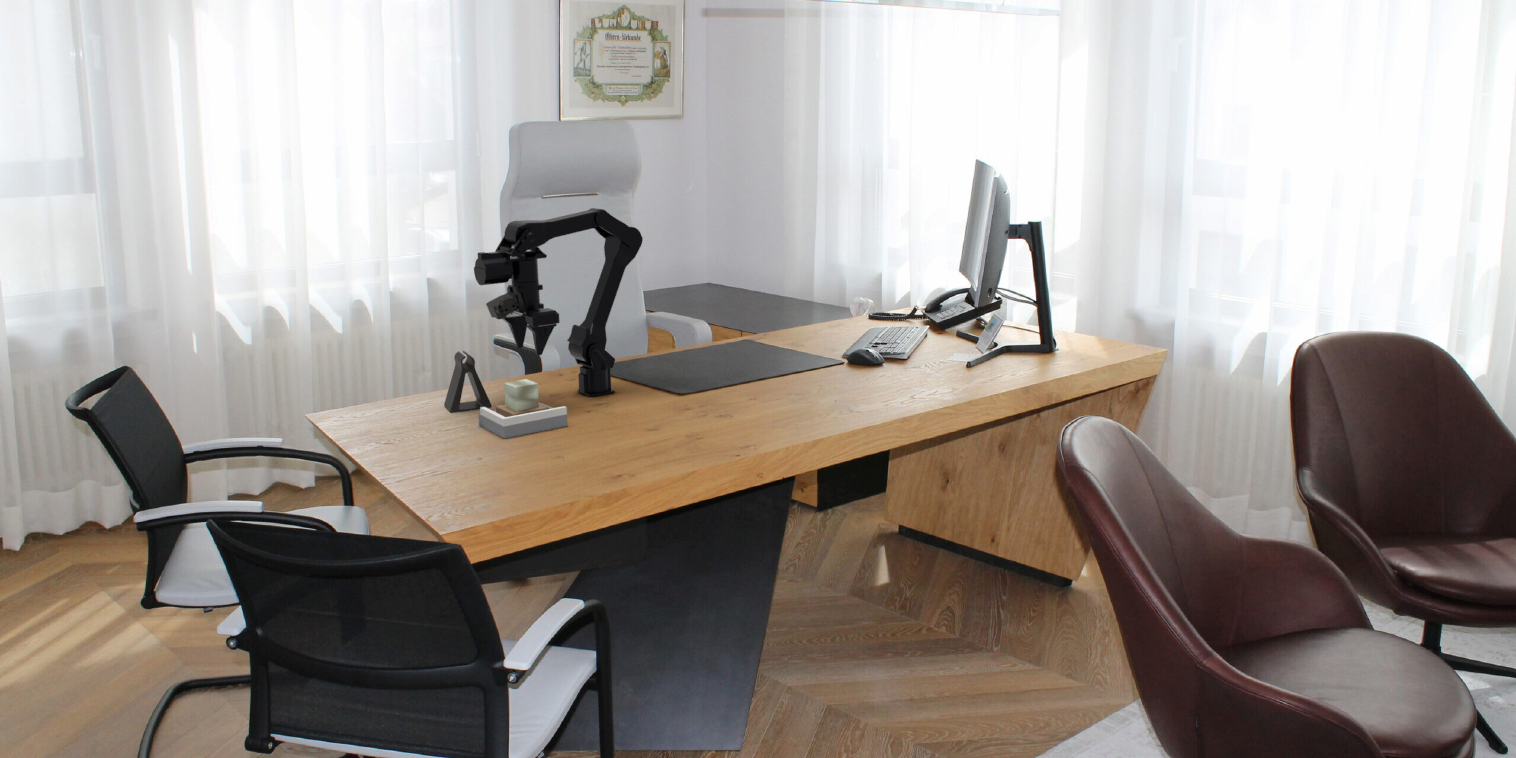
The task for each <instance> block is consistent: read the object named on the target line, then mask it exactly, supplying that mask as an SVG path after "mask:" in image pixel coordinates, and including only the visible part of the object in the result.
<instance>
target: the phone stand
mask: <svg viewBox="0 0 1516 758" xmlns="http://www.w3.org/2000/svg"><path fill="white" fill-rule="evenodd" d="M464 354H465V355H464ZM453 359H454V369H453V372H452V375H451V379H450V383H449V386H448V390H447V393H446V396H445V400H444V403H443V404H444V407H445V408H446V410H448V411H449V412H450V413H451V414H454V413H462V412H468V411H477V410H480V407H486V408H488V409H491V408H492V406H493V405H492V403H491V401H490V399H489V396H488V395H487V391H486V390H485V387H484V386H483V384H482V382H481V379H480V377H479V375H478V373H477V372H478V371H477V370H476V365H475V364H476V360H475V359H474V357H472V355H471V354H469V353H468V352H467V351H465V350H462V352H461V351H457V352H456V353H455V354H454V357H453ZM465 359H466V360H465ZM464 360H465V361H464ZM466 374H467V376H468V380H469V383H470V386H471V387H472V388H471V389H472V391H473V393H474V397H475V400H472V401H465V402H461V399H462V395H463V389H464V385H465V379H466Z"/></svg>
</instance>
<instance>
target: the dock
mask: <svg viewBox="0 0 1516 758" xmlns="http://www.w3.org/2000/svg"><path fill="white" fill-rule="evenodd" d="M539 403H540V404H542V405H544V406H547V407H549V409H547V410H541V411H536V412H531V413H526V414H520V415H515V416H510V417H504V416H502V415H500V414H498V413H496V409H495V410H491V408H486V407H480V409H479V413H478V415H477V416H478V425H479V426H480V427H482V428H484V429H485V430H488V431H490V432H491V433H493V434H494V435H496V436H499V437H501V438H503V439H508V438H516V437H520V436H525V435H529V434H535V433H539V432H545V431H549V430H554V429H559V428H564V427H568V424H569V422H568V407H567V406H566V405H563V406H557V407H552V406H549V405H547V404H545V403H543V402H540V401H539Z"/></svg>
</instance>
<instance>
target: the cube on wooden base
mask: <svg viewBox="0 0 1516 758" xmlns="http://www.w3.org/2000/svg"><path fill="white" fill-rule="evenodd" d="M503 386H504V387H503V389H504V390H503V391H504V404H500V405H495V410H496V413H498V414H500V415H502V416H504V417H510V416H515V415H520V414H526V413H531V412H536V411H541V410H547V409H549V407H547V406H544V405H542V404H540V403H539V402H540V401H539V400H540V399H539V387H538V386H539V384H538V383H537V382H535V381H532V380H529V379H527V378H525V379H519V380H518V379H517V380H512V381H507V382H504V383H503Z"/></svg>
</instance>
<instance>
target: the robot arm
mask: <svg viewBox="0 0 1516 758" xmlns="http://www.w3.org/2000/svg"><path fill="white" fill-rule="evenodd" d="M591 229H594V231H596V233H597V234H598V235H600V236H601V237H602V238H603V239H604V246H603V251H604V263H603V266H602V268H601V272H600V275H599V279H598V281H597V284H596V288H595V289H594V293H593V295H592V299H591V301H590V304H589V308H588V310H587V312H586V316H585V319H584V320H583V321H582V322H581V323H580V325H578V324H573V325H572V328H571V332H570V335H569V338H567V340H566V341H567V342H569V343H568V347H567V348H568V351H569V353H570V355H571V356H572V358H573V359H575V363H576V365H579V373H578V375H577V377H578V378H577V379H578V389H577V392H578V393H580V394H583V395H586V396H588V397H597V396H602V395H608V394H614V393H615V392H616V390H615V389H613V388H612V375H611V374H612V372H611V369H612V368H614V365H615V362H616V359H615V357H614V356H612V355H611V354H610V353H609V352H608V351H607V350H606V346H607V342H608V341H607V339H608V338H607V331H606V329H607V328H606V326H607V323H608V321H609V317H610V314H611V311H612V309H613V306H614V303H615V301H616V297H617V294H618V291H619V288H620V284H621V282H622V280H623V276H624V274H625V270H626V269H627V267H628V266H629V265H630V264H631V262H632V261H633V260H635V258H636V256H637V255H638V253H639V252H640V249H641V247H642V243H643V239H644V238H643V236H642V233H641V231H640V230H639V229H638V228H637V227H635V226H629V225H627V223H624V222H623V221H621V220H620V219H618V218H616V217H615V216H613V215H612V214H610V213H609V212H608V211H607V210H605V209H604V208H595V207H592V208H589V209H587V210H583V211H578V212H575V213H570V214H565V215H560V216H557V217H552V218H549V219H543V220H542V219H541V220H534V219H533V220H532V219H531V220H528V219H525V220H512V221H510V222H509V223H508V224H507V226H506V227H505V230H504V236H503V237H502V239H501V240H500V242H499V244H498V245H497V247H496V249H495V251H492V252H490V251H489V252H485V251H481V252H477V258H476V259H475V262H474V267H473V274H474V277H475V281H476V282H477V284H478V285H479V286H487V285H497V284H506V283H508V282H509V281H510V279H511V284H508V286H507V288H506V290H507V292H506V293H504V294H502V295H499V296H497V297H496V298H494V299H491V300H490V301H488V302H486V303H485V305H486V307H487V309H488V311H489V314H490V317H491V318H494V319H495V318H496V320H503V322H505V323H507V324H508V326H509V329H510V331H511V334H512V337H513V340H514V342H515V344H516V345H515V346H516V348H518V349H522V348H523V346H524V343H525V339H526V333H527V329H528V330H530V331H531V333H532V338H533V339H532V340H533V344H534V345H533V346H534V350H535V354H536V356H542V355H543V352H544V351H545V348H546V346H547V343H548V341H549V339H550V336H551V335H552V332H553V331H554V328H555V327H557V324H559V323H561V322H560V313H558V312H557V311H556V310H555V309H552V308H548V307H546V308H545V304H544V303H541V300H540V299H541V296H540V291H542V290H544V286H543V285H544V284H540V281H539V280H540V279H539V265H538V264H539V263H538V262H539V261H538V260H539V259H547V256H548V255H547V254H546V253H545V252H543V251H542V250H541V249H540V247H541V246H543V245H545V244H547V243H548V242H549V241H551V240H553V239H555V238H559V237H563V236H567V235H572V234H576V233H579V232H584V231H588V230H591Z"/></svg>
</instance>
